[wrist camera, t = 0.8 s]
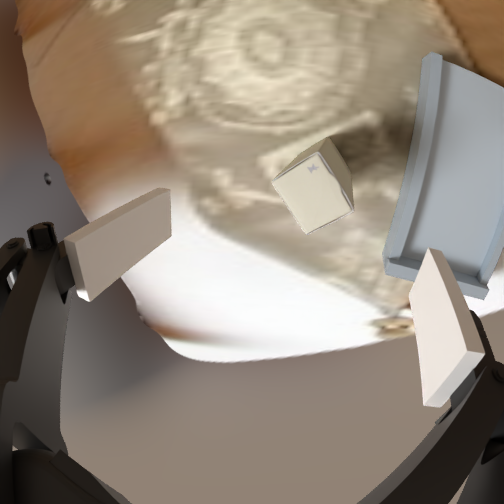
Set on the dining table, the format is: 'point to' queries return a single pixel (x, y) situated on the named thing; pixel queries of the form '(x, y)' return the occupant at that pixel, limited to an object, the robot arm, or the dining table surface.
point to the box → (316, 187)
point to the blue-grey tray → (452, 179)
